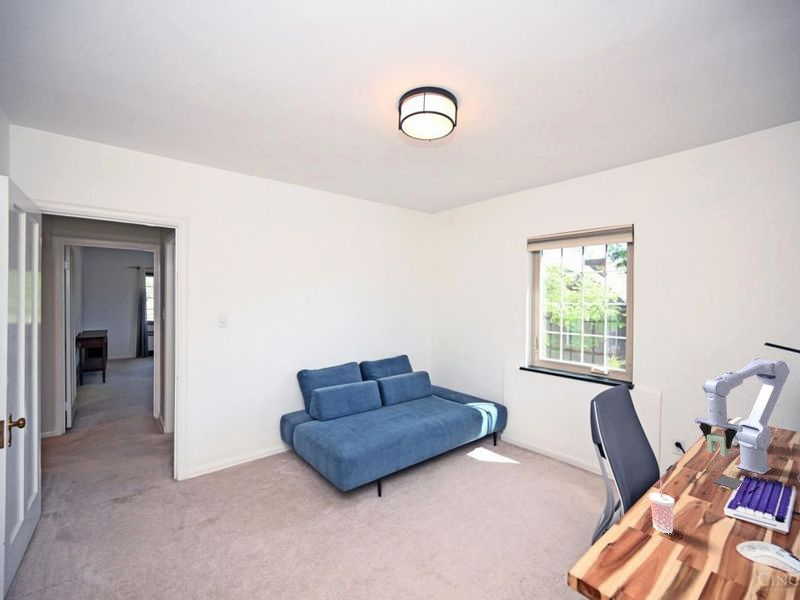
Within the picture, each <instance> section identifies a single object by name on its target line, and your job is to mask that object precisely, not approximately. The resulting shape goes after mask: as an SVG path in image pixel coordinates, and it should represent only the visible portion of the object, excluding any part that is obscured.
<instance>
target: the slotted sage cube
mask: <svg viewBox="0 0 800 600" xmlns="http://www.w3.org/2000/svg"><path fill="white" fill-rule="evenodd" d="M718 443H719V455H720V456H721V457H726V456H727V455H731V452H732V450H731V448H730V449H726V436H725V434H720V433H716V432H711V434H708V435H707V442H706V452H707V453H709V454H712V453H714V452H717V451H718Z"/></svg>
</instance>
